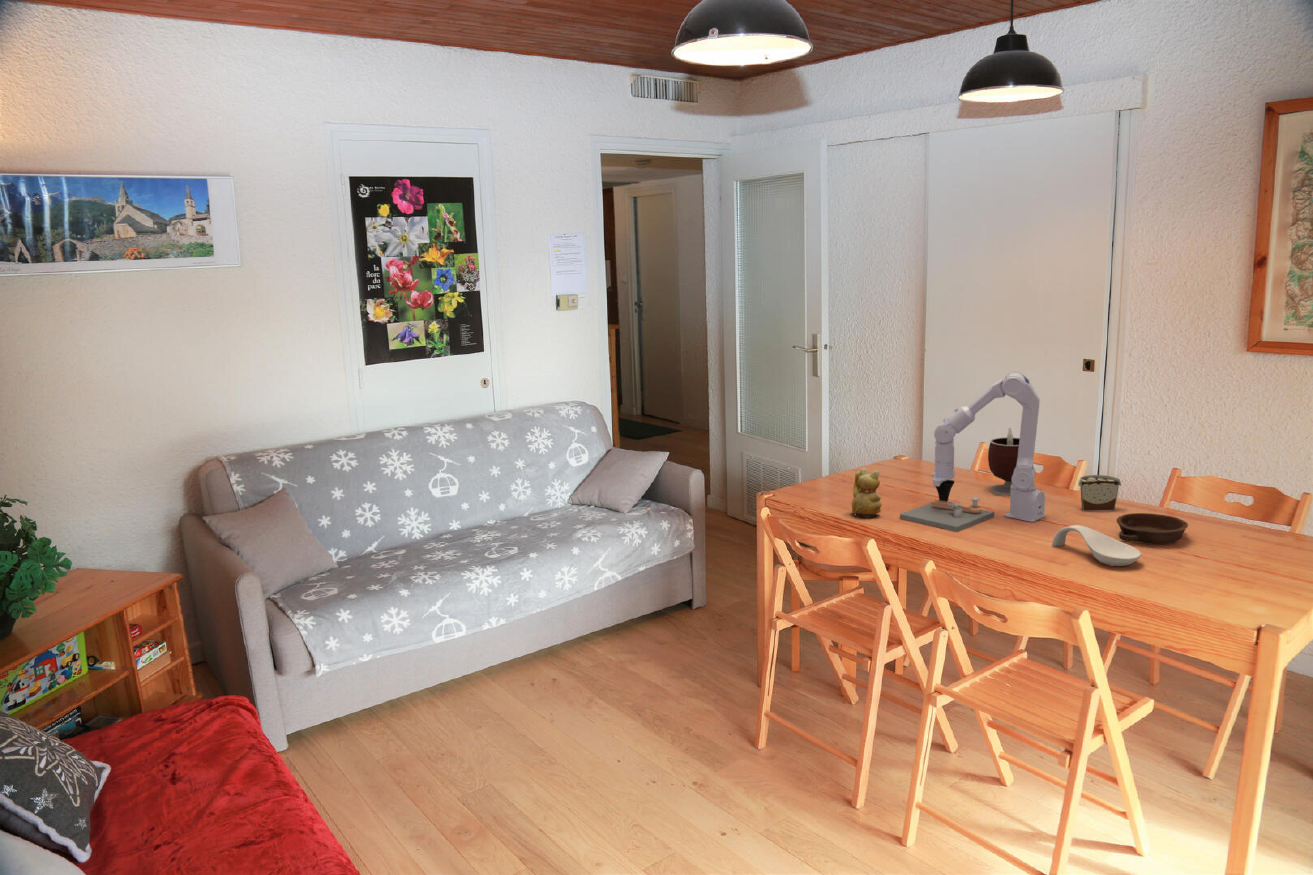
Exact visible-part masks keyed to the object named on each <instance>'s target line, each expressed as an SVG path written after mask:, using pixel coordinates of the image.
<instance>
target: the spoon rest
mask: <svg viewBox="0 0 1313 875" xmlns="http://www.w3.org/2000/svg"><path fill="white" fill-rule="evenodd" d="M1071 531H1073V532H1077V533H1078V534H1080V535H1081V537H1082V539H1083V541H1084V542H1085V544H1086V546H1087V548H1088V549H1089V551H1090V552H1091V555H1092V556H1093V557H1094V558H1095V559H1096V560H1097V561H1099V562H1100V563H1101V564H1103V563H1104V564H1103V565H1105V564H1107V565H1106V566H1110V565H1113V566H1112V567H1123V566H1129V565H1131V564H1133V563H1135V562H1136V561H1138V560H1139V559H1140V557H1141V556H1142V553H1141V551H1140V550H1138V548H1136V547H1134V546H1132V545H1129V544H1127V543H1125V542H1122V541H1121V540H1117V539H1115V538H1112V537H1110V536H1108V535H1106V534H1103V533H1102V532H1099V531H1097V530H1095V529H1092V528H1090V527H1087V526H1084V525H1079V524H1074V525H1070V526H1065V527H1062V528H1061V529H1059V530H1058V531H1057V532H1056V533H1055V535H1054V537H1053V539H1052V542H1051V543H1052V544H1051V547H1061V546H1064V545H1065V544H1066V539H1067V534H1068V533H1069V532H1071Z"/></svg>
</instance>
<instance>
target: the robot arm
mask: <svg viewBox="0 0 1313 875" xmlns="http://www.w3.org/2000/svg"><path fill="white" fill-rule="evenodd" d="M1005 396H1008V398H1009V397H1010V398H1011V399H1013V400H1015V401H1016V402H1017V403H1018V404H1020V406H1021V407H1022V413H1021V422H1020V430H1019V438H1020V439H1019V449H1018V458H1017V465H1016V467H1015V469H1014V473H1013V476H1012V479H1011V480H1012V485H1011V492H1010V496H1009V497H1010V498H1009V512H1008V513H1007V512H1006V513H1004V514H1003V516H1004V517H1006V518H1011V519H1014V520H1015V519H1016V520H1022V521H1026V522H1033V523H1034V522H1036V521H1038V520H1041V519H1043V518H1045V517H1046V514H1045V508H1046V507H1045V506H1046V496H1045V493H1044V492H1043V491H1041V490H1038V489H1037V485H1035V478H1036V470H1035V468H1034V457H1035V449H1036V448H1035V447H1036V441H1037V440H1036V437H1037V430H1038V429H1037V428H1038V421H1039V412H1040V404H1041V402H1040V401H1041V400H1040V397H1039V395H1038V393H1037V392H1036V389H1034V386H1033V384H1032V383H1031V380H1030V379H1029V378H1028V377H1027V376H1026V375H1025V374H1023V373H1022V372H1020V371H1011V372H1009V373H1008V374H1007V375H1006V376H1005V377H1002V378H1001V379H999V380H997V381H996V382H994V383H993V384H992V385H990V386H989V387H988V388H987V389H986V390H985V391H984V392H982V394H981V395H979V396H978V397H977V398H976V399H975V400H974V401H973V402H971V404H969V405H967V406H965V405H962V406H960V407H958V406H957V407H956V408H955V409H954V412H953V413H951V415H949V416H948V417H947V418H946V417H945V418H944V419H943V420H942V422H941V423H940V424H938V425H937V427H936V428H935V430H934V434H933V435H934V439H935V443H934V444H935V446H934V472H932V473H931V474H930V476H931V477H933V479H932V487H933V486H934V487H935V488H936V491H937V495H938V500H941V501H948V502H949V496H950V493H951V490H952V488H953V486H954V484H955V480H953V479H955V476H956V470H955V469H954V468H955V442H954V439H955V436H956V434H957V435H958V434H960V433H961V432H962V431H964V430H965V429H966V428H967V427H968V426H969V425H971V424H972V423H974V421H975V420H976V414H977V413H978V412H980V410H982V409H983V408H985V407H986V406H987V405H989V404H990V403H991V402H992V401H994V399H1000V398H1005Z"/></svg>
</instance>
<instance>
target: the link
mask: <svg viewBox="0 0 1313 875" xmlns="http://www.w3.org/2000/svg"><path fill="white" fill-rule="evenodd" d="M970 500H971V501H972V504H968V503H963V502H962V503H961V502H956V503H957V504H959V505H961V506H962V511H964V512H970V513H981V510H982V506H980V505H978V503H979V501H980V497H977V496H972V497H971V498H970ZM947 502H949V500H948V501H941V500H939V499H933V500H932V501H931V502H930V503H931V507H938V508H945V509H951V510H954V509H953V508H951V507H950V506H948V505H947Z"/></svg>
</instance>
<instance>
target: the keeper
mask: <svg viewBox="0 0 1313 875" xmlns="http://www.w3.org/2000/svg"><path fill="white" fill-rule="evenodd" d="M957 503H958V502H955V501H948V502H947V505H948V506H950V507H951V508H953V509H954V517H955V518H958V517H962V506H961V505H959V504H957Z"/></svg>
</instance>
